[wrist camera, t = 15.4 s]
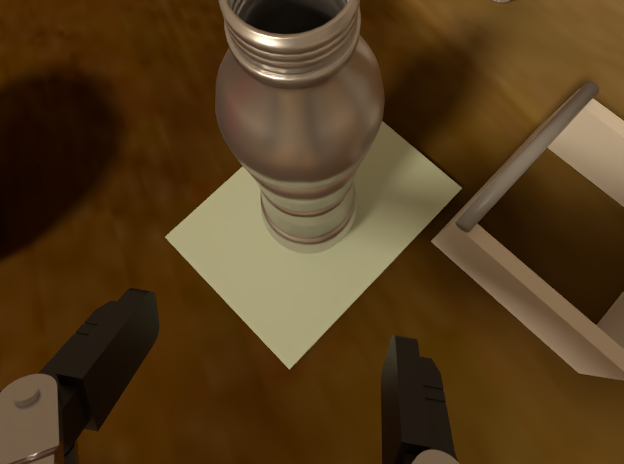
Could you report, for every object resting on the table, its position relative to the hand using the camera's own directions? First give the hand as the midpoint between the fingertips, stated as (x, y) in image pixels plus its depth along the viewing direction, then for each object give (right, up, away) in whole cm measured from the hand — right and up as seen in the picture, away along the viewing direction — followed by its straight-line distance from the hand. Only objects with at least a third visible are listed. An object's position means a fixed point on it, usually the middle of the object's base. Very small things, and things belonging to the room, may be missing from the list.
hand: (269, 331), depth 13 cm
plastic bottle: (+1, +5, +16) cm, 17 cm away
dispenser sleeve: (+19, +3, +16) cm, 25 cm away
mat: (+2, +5, +16) cm, 17 cm away
